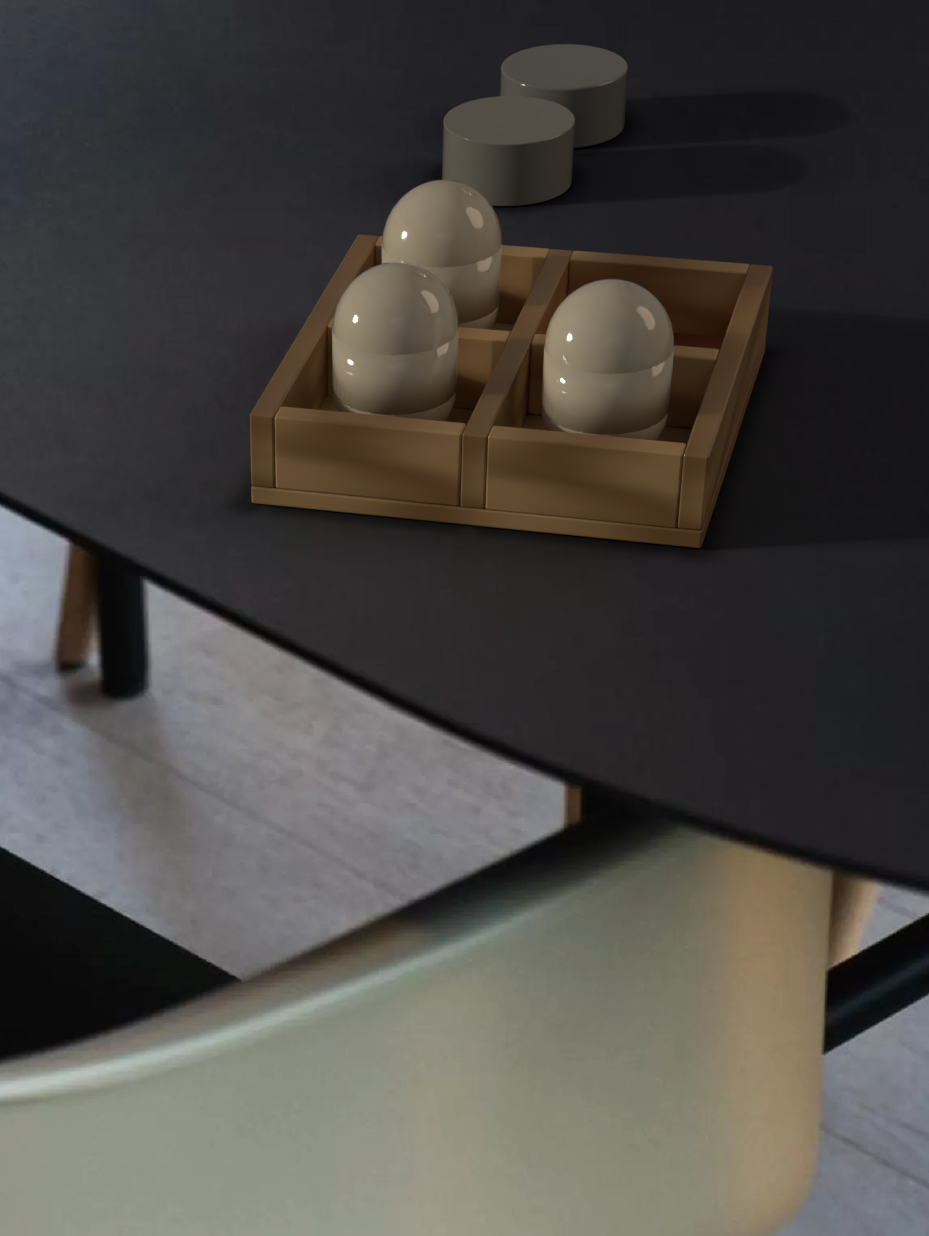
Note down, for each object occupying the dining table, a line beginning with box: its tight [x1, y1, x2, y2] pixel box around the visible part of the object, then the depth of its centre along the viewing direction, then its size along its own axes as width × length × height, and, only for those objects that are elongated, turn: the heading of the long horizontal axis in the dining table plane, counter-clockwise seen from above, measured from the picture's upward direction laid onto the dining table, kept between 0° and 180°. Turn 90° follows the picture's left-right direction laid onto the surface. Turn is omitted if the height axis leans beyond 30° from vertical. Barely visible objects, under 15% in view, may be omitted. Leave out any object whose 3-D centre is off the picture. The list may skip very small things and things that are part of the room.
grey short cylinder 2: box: [499, 43, 629, 149], centre depth 116 cm, size 5×5×2 cm
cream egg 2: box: [332, 262, 459, 421], centre depth 93 cm, size 4×4×6 cm
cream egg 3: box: [541, 279, 674, 441], centre depth 91 cm, size 4×4×6 cm
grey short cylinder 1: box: [441, 95, 575, 207], centre depth 112 cm, size 5×5×2 cm
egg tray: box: [249, 234, 774, 549], centre depth 96 cm, size 14×14×3 cm
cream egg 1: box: [381, 179, 503, 330], centre depth 98 cm, size 4×4×6 cm
